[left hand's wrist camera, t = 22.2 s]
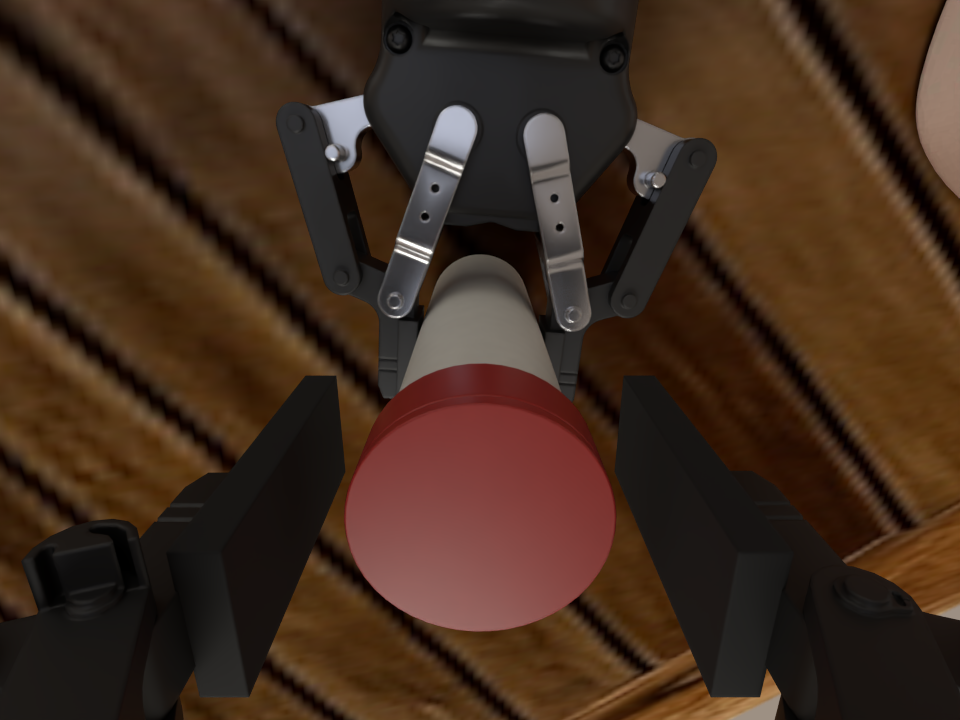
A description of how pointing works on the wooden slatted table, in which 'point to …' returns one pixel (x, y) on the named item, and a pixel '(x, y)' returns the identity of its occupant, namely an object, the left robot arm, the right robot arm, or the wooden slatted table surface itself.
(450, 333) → the white bottle
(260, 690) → the wooden slatted table surface
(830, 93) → the wooden slatted table surface
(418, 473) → the lid
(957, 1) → the anatomical model
